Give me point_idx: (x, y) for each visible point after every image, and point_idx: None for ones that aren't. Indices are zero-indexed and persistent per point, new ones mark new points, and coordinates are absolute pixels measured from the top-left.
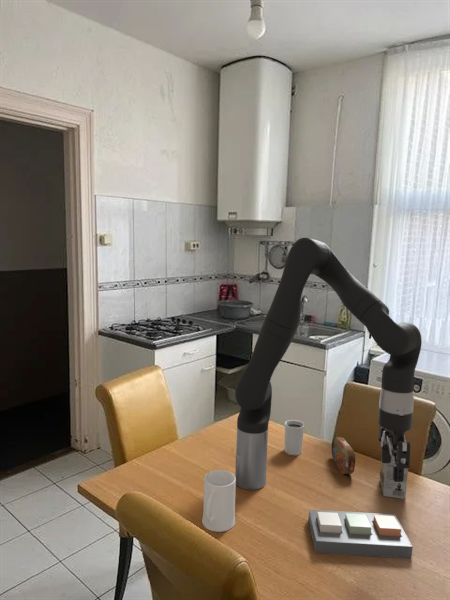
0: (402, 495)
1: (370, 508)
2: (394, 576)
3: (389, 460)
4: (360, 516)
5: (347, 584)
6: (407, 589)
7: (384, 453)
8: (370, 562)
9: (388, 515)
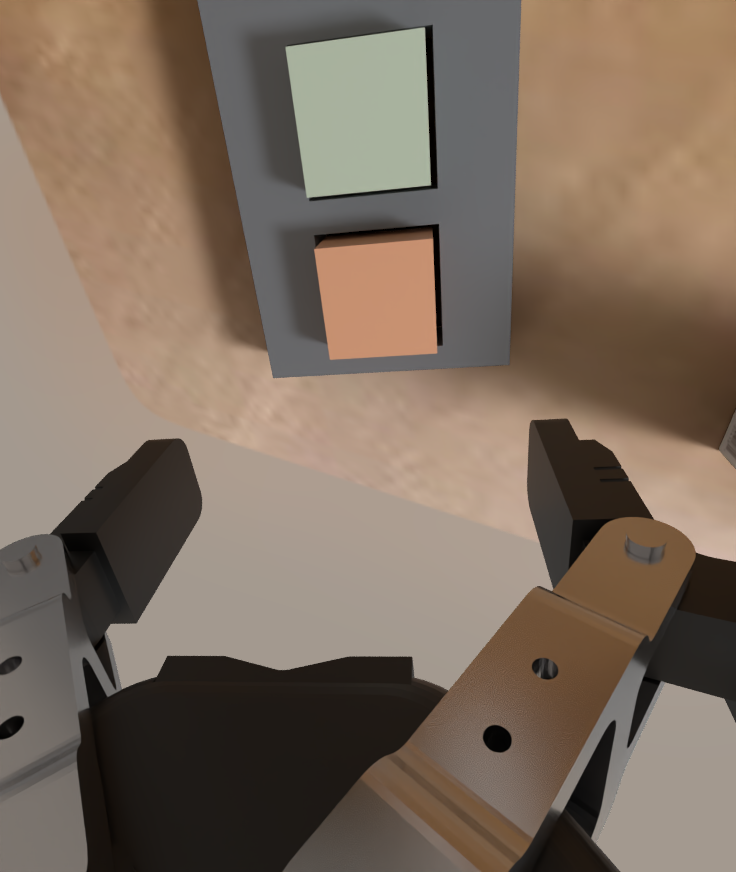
0: (730, 445)
1: (647, 253)
2: (159, 260)
3: (533, 504)
4: (403, 143)
5: (21, 12)
6: (108, 294)
7: (554, 503)
8: (209, 166)
9: (497, 329)
